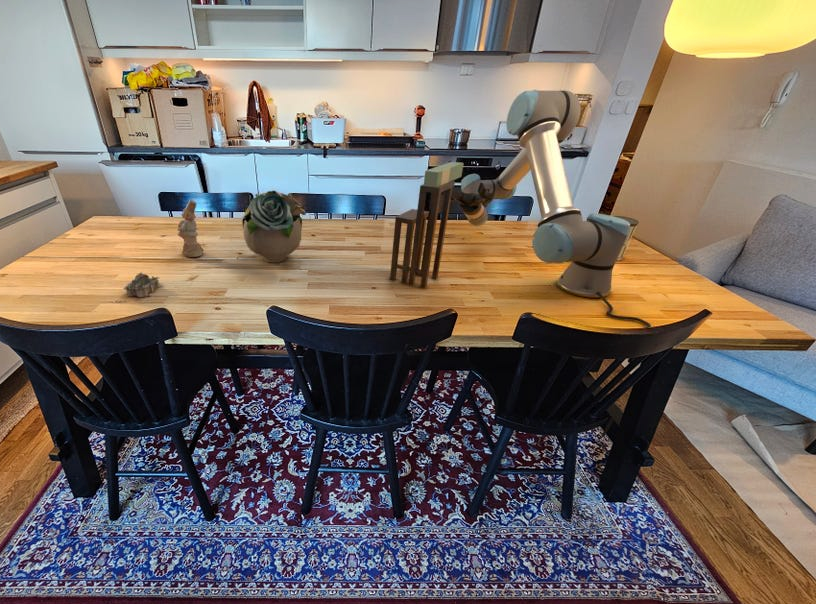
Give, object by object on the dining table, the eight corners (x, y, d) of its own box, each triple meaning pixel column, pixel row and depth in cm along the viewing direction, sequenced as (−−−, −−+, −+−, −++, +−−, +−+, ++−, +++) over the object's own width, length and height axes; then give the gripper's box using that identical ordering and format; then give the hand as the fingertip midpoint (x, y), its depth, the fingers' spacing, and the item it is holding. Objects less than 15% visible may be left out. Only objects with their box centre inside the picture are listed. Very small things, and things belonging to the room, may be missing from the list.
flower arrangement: (319, 254, 154) (318, 188, 140) (281, 276, 137) (275, 202, 123) (269, 243, 165) (264, 180, 151) (227, 262, 147) (217, 193, 133)
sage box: (449, 175, 127) (451, 161, 125) (461, 176, 126) (463, 162, 123) (423, 185, 114) (425, 170, 112) (436, 187, 112) (438, 172, 110)
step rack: (405, 268, 144) (416, 176, 126) (439, 276, 138) (455, 181, 120) (389, 279, 135) (398, 182, 118) (424, 288, 129) (439, 188, 112)
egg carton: (144, 282, 132) (141, 271, 129) (164, 285, 130) (161, 273, 128) (122, 296, 123) (118, 284, 121) (143, 299, 122) (140, 286, 119)
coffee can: (588, 250, 160) (602, 215, 152) (615, 251, 160) (630, 216, 152) (599, 260, 152) (615, 222, 144) (628, 261, 151) (644, 223, 143)
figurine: (209, 252, 156) (199, 199, 144) (194, 259, 149) (183, 204, 138) (192, 249, 159) (181, 196, 147) (176, 256, 152) (164, 201, 141)
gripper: (501, 221, 146) (493, 200, 127) (438, 210, 158) (422, 190, 139) (508, 200, 145) (501, 177, 126) (444, 191, 156) (429, 168, 138)
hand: (460, 184), depth 133 cm, fingers open, 13 cm apart
